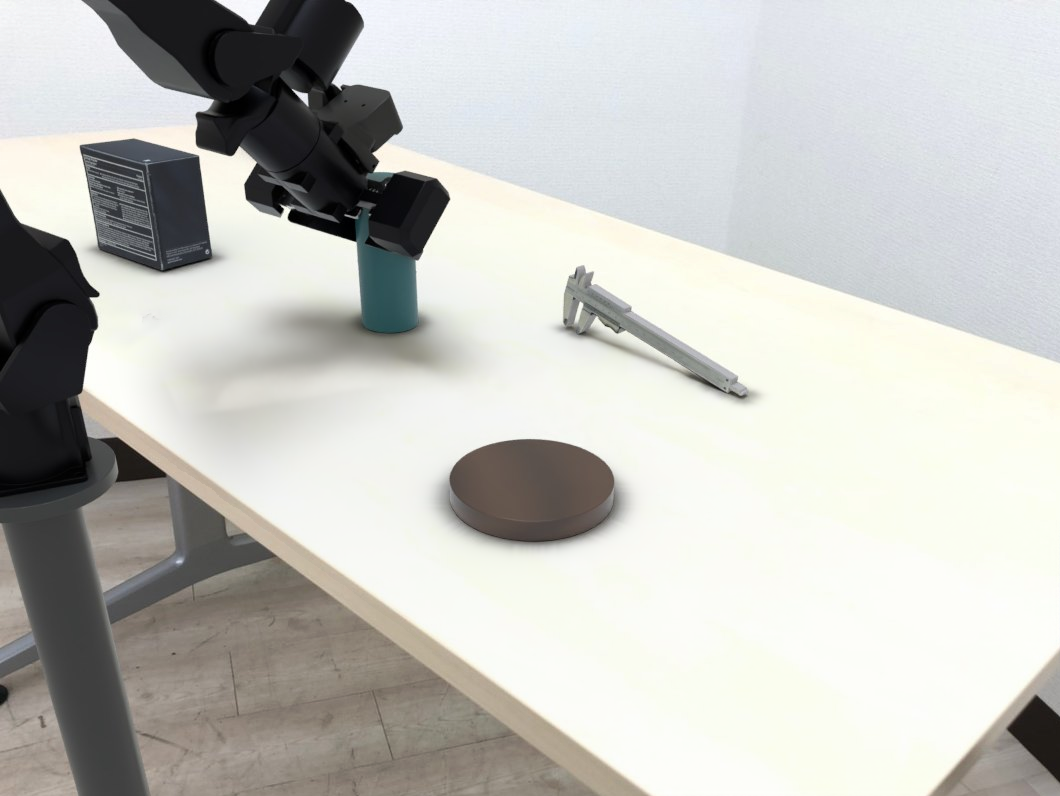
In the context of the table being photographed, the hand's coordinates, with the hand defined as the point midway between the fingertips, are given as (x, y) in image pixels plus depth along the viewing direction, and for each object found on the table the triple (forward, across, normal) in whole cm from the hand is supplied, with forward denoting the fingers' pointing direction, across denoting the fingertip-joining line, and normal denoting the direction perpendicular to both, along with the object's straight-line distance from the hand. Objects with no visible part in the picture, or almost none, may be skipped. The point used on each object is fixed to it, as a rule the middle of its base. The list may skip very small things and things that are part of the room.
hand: (397, 249), depth 93 cm
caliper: (+10, -23, 0) cm, 25 cm away
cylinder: (+4, 0, +6) cm, 7 cm away
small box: (+2, +30, +7) cm, 31 cm away
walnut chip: (-8, -29, +17) cm, 34 cm away
